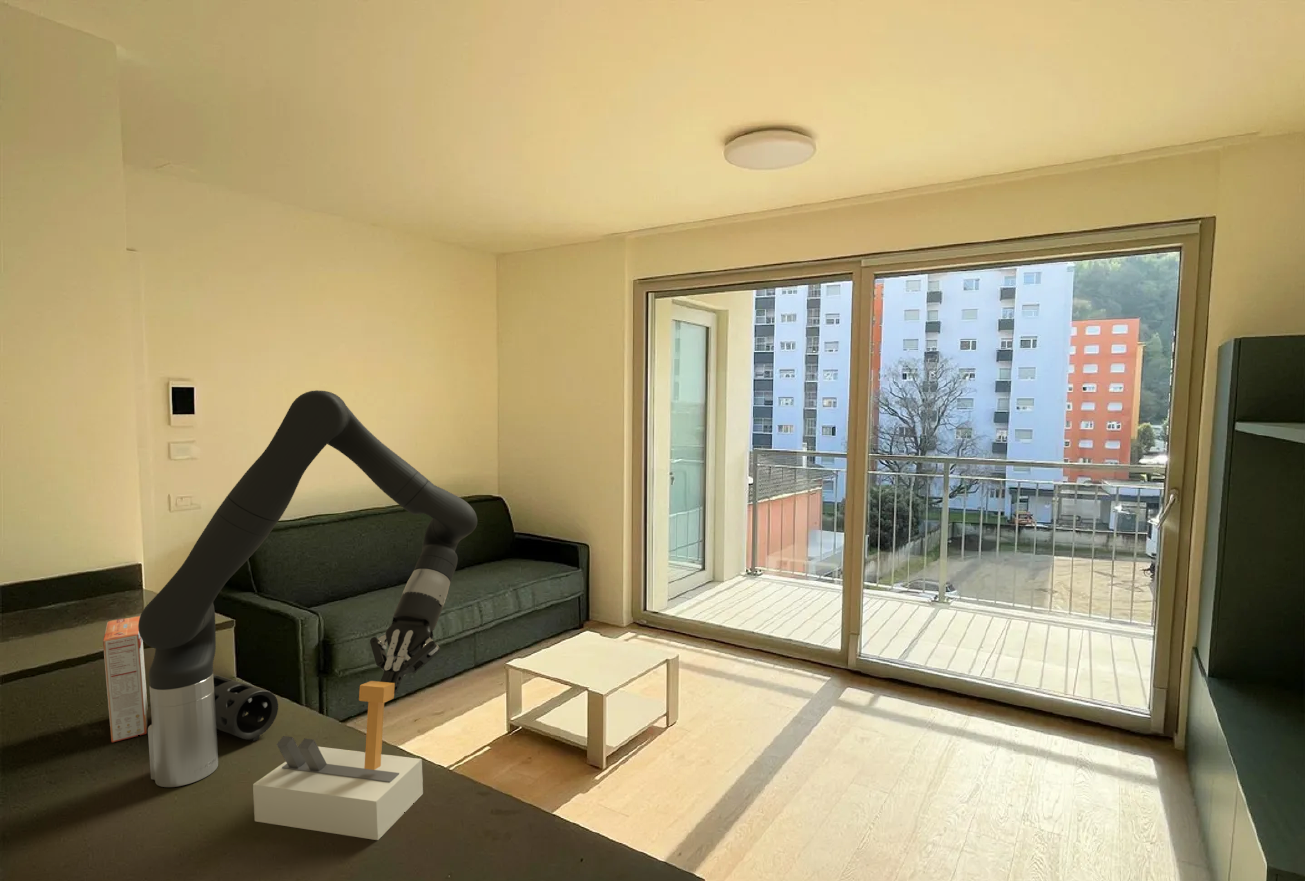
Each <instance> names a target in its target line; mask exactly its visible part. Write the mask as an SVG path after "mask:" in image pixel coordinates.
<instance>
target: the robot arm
mask: <svg viewBox="0 0 1305 881" xmlns="http://www.w3.org/2000/svg"><path fill="white" fill-rule="evenodd" d="M327 445H328V446H330V447H332V448H333V449H335V450H336V451H337V452H339V453H341V454H342V455H344V456H345V457H347V458H348V459H349V460H350V461H351V462H352V463H354V464H355V465H356V466H357V467H358V468H359V469H360V470H361V471H362V472H363V473H364V474H365V475H366V476H367V477H368V478H369V479H370V480H371V481H372V482H373V483H374V484H375V485H376V486H377V487H378V488H379V489H380V490H381V491H382V492H383V493H384V494H385V495H387V496H388V497H389V498H390V499H391V500H393V501H394V502H395V503H397V504H398V506H400V507H401V508H402V509H404V510H405V511H406V512H408V513H409V514H411V515H414V516H415V515H416V516H417V515H421V514H425V515H427V516H429V517H430V518H431V519H430V521H429V522H428V525H427V527H426V530H425V534H424V536H423V537H424V538H423V541H422V549H421V553H420V555H419V557H418V559H417V561H416V564H415V567H414V569H413V571H412V573H411V575H410V577H409V579H408V580H407V582H406V585H405V586H404V589H403V591H402V594H401V597H400V598H399V601H398V603H397V605H396V609H395V611H394V612H393V616H392V622H391V624H390V626H389V627H388V628H386V630H385V634H383V635H381V636H380V637H378V638H377V637H376V636H373V637H371V638H370V639H369V643H370V647H371V650H372V651H371V652H372V654H373V658H374V660H375V664H376V666H377V667H378V668H380V669H381V670H382V671H383V674H382V676H381V678H380V682H389V683H395V687H394V696H395V695H396V694H397V693H398V691H399V688H400V685H401V682H402V680H403V678H404V677H405V676H406V675H408V674H413V675H414V674H416V673H418V671H419V670H421V669H422V668H423V667H425V665H426V664H427V663H429V662H430V661H431V660H433V658H434V657H435V656H436V655H438V654H439V653H440V651H441V647H440V646H439V644H437V642H435V641H434V640H433V639H434V633H433V632H434V630H435V629H436V627H437V624H438V622H439V618H440V615H441V613H442V610H443V608H444V606H445V603H446V600H447V598H448V593H449V588H450V585H451V582H452V579H453V577H454V574H455V571H456V569H457V565H458V560H459V558H458V555H457V553H456V550H457V548H458V547H457V546H458V545H459V543H460V541H461V540H463V539H465V538H466V537H468V536H469V535H470V534H472V533H473V532H474V531H475V529H476V528H477V525H478V517H477V513H476V511H475V510H474V508H473V507H472V506H471V505H470V504H469V503H468V502H467V501H466V500H464V499H463V498H461V497H460V496H458V495H456V494H454V493H452V492H450V491H448V490H446V489H444V488H442V487H440V486H437V485H436V484H434V483H432V481H431V480H430V479H428V478H427V477H425V476H424V475H423V474H421V472H419V471H418V470H417V469H416V468H415V467H413V466H412V465H411V464H410V463H408V462H407V461H406V460H404V459H403V458H402V457H401V456H400V455H398V454H397V453H396V452H394V451H393V450H391V449H390V447H388V446H387V445H385V444H384V442H382V441H380V439H378V437H376V436H375V435H374V434H373V433H372V432H370V430H369V429H368V428H367V427H365V426H364V424H363V423H362V422H361V421H360V420H359V418H357V416H356V415H355V414H354V413H353V411H351V409H350V408H349V407H348V406H347V404H346V403H345V401H344V400H343V399H342V398H341V397H340V396H339V395H337V394H335V393H333V392H331V391H326V390H317V389H316V390H310V391H305V392H304V393H302V394H300V395H299V396H298V397H297V398H295V400H293V401H292V403H291V404H290V406H289V408H288V410H287V411H286V413H285V415H284V418H283V419H282V422H280V425H279V426H278V428H277V430H276V432H275V434H274V436H273V437H272V439H271V441H270V442H269V444H268V445H267V447H266V448H265V449H264V451H263V452H262V453H261V454H260V456H259V457H258V458H257V459H256V460H255V461H254V462H253V464H251V466H250V467H249V468H248V470H246V472H245V473H244V474H243V475H242V476H241V478H240V479H239V480H238V482H237V483H236V484H235V485H234V486H233V488H232V489H231V490H230V491H229V493H228V494H227V496H226V497H225V498H224V500H223V501H222V502H221V504H220V505H219V507H218V508H217V509H216V511H215V513H214V514H213V515H212V517H211V518H210V520H209V521H208V523H207V525H206V527H205V528H204V529H203V530H202V533H201V534H200V536H199V537H198V539H197V540H196V542H195V544H194V546H193V547H192V548H191V551H190V552H189V554H188V556H187V557H186V559H185V561H184V562H183V563H182V565H181V566H180V567H179V568H178V570H177V571H176V572H175V573H174V575H173V576H172V577H171V578H170V579H169V581H168V582H167V583H166V584H165V585H164V586H163V588H161V590H160V591H159V592H158V593H157V594H156V595H155V596H154V597H153V598H152V599H151V601H150V602H148V604H146V606H145V607H144V609H143V610H142V611H141V614H140V615H139V616H140V618H139V624H138V629H139V634H140V637H141V638H142V640H143V643H144V644H145V645H147V646H148V647H150V648H152V649H155V650H154V651H155V652H154V655H153V661H152V663H151V666H150V668H149V669H148V670H149V671H148V682H149V698H150V699H149V700H150V701H149V702H150V715H151V716H150V717H151V718H150V719H151V724H150V725H149V726H147V736H148V751H149V752H148V754H149V768H150V769H149V770H150V780H154V781H155V782H154V783H155V784H156V785H157V786H158V787H162V788H163V787H164V788H175V787H181V786H185V785H190V784H192V783H195V782H198V781H200V780H202V779H205V778H206V777H208V776H210V775H211V774H212V773H214V772H215V771H216V770H217V769H218V766H219V755H218V735H217V734H218V733H217V732H218V731H217V729H216V713H215V696H214V680H213V674H214V660H215V654H216V650H217V648H216V647H217V645H216V644H217V640H216V634H217V633H216V611H215V605H214V601H215V599H216V598H217V596H218V594H219V593H220V592H221V590H222V589H223V588H224V586H225V585H226V583H227V582H228V581H229V580H230V578H232V577H233V575H235V574H236V572H238V571H239V569H240V568H241V567H242V566H244V564H245V563H246V562H247V561H248V560H249V558H250V557H252V556H253V555H254V553H255V552H256V551H257V550H258V549H259V548H260V546H261V545H262V544H263V543H264V542H265V540H266V539H267V538H268V536H269V535H270V533H271V532H272V530H273V529H274V528H275V526H276V525H277V524H278V523H279V521H280V519H281V518H282V517H283V515H284V513H285V512H286V509H287V508H288V506H289V504H290V502H291V501H292V499H293V496H294V495H295V492H296V490H297V487H298V486H299V483H300V482H301V479H302V477H303V476H304V473H305V472H306V470H307V469H308V467H309V466H310V465H311V463H312V462H313V461H314V460H315V459H316V457H317V456H318V455H319V454H320V453H321V451H322V450H323V449H324V448H325V447H326V446H327ZM387 647H388V649H387ZM386 650H387V653H386Z"/></svg>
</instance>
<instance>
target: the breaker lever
mask: <svg viewBox="0 0 1305 881" xmlns="http://www.w3.org/2000/svg"><path fill="white" fill-rule="evenodd" d="M394 687H395V683H389V682H381V681H378V680H377V681H376V680H370V681H366V682H365V683H362V684H360V685H359V693H358V694H359V696H358V701H360V702H365V703H366V702H367V716H366V717H367V720H366V734H365V735H366V736H365V751H364V752H365V766H364V769H371V770H375V769H377V768H378V767H380V766H381V754H382V748H383V747H382V746H383V732H384V716H385V714H384V713H385V704H386V703H387V702H389V701H391V700H394V698H395V695H394Z"/></svg>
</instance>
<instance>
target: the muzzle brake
mask: <svg viewBox="0 0 1305 881" xmlns="http://www.w3.org/2000/svg"><path fill="white" fill-rule="evenodd" d="M213 680H214V696H215V713H216V730H219V731H221V732H224V733H226V734H229V735H232V736H235V737H237V738H240V739H243V740H247V741H250V742H256V741H257V740H259V739H260V737H261V735H263V734H264V733H266V732H267V731H268V730H269V729H270V727H271V726H272V725H273V724H274V721H275V720H276V718H277V715H278V712H279V702H278V699H277V698H278V697H276V695H275V694H274V693H272V691H269V690H266V689H263V688H260V687H256V686H253V685H251V684H250V685H249V684H246V683H244V682H241V681H237V680H234V679H231V678H229V677H228V678H227V677H224V676H221V675H218V674H215V673H213Z"/></svg>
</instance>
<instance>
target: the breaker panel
mask: <svg viewBox="0 0 1305 881" xmlns="http://www.w3.org/2000/svg"><path fill="white" fill-rule="evenodd" d="M276 747H277V748H278V750H279V751H280V754H281V755H282V757H283V758H284V760H285V761H284V762H283V763H282V764H280V765H278V766H277V767H276V768H273V770H271V771H269V772H268V773H267V774H265V775H264V776H263V777H261V778H260V779H258V780H257V781H255V782H254V783H253V784H252V790H253V791H252V792H253V795H252V796H253V813H254V815H253V816H254V822H258V823H263V824H264V823H265V824H268V825H269V824H270V825H277V826H282V827H283V826H285V827H291V828H297V829H304V830H309V831H310V830H311V831H317V832H323V833H329V834H335V835H336V834H337V835H342V836H347V837H356V838H360V839H369V840H375V841H379V840H380V839H381V837H383V836H384V835H385V834H386V833H387V831H388V830H389V829H390V828H392V826H393V825H395V823H396V822H398V820H399V819H400V818H401V817H402V816H403V815H404V814H405V813H406V812H407V811H408V810H409V809H410V808H411V807H412V806H413V805H414V804H415V803H416V802H417V800H418V799H419V798H420V797H422V795H423V794H424V788H423V787H424V785H423V784H424V782H423V759H422V758H415V757H408V756H401V755H391V754H382V753H381V766H380V767H378V768H377V769H375V770H371V769H364V766H365V751H359V750H348V749H342V748H341V749H340V748H335V747H334V748H333V747H332V748H331V747H324V746H318V744H317V742H316V739H312V738H303V740H302V741H301V742H300V743H299V745H298V744H297V742H296V740H295V738H294V737H293V736H287V735H283V736H281V738H280V739H279V741H278V742H277V743H276ZM413 803H414V804H413ZM404 812H405V813H404Z"/></svg>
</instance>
